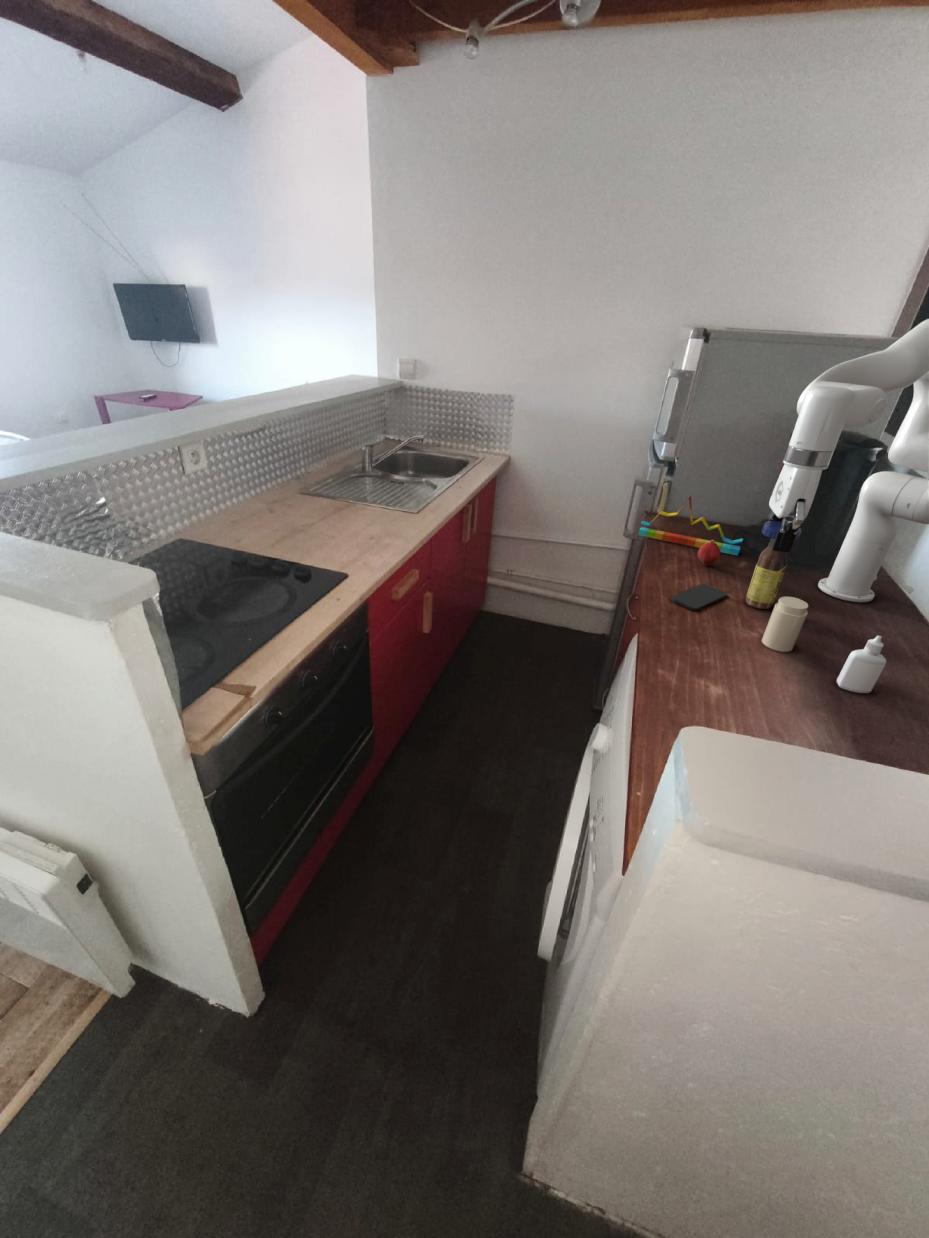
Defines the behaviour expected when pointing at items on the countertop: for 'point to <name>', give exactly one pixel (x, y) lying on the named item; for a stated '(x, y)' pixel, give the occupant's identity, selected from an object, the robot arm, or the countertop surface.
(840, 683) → the eye dropper bottle
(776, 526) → the jar lid
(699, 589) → the phone
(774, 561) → the sauce bottle
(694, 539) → the chart
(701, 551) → the onion
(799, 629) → the mayonnaise jar
